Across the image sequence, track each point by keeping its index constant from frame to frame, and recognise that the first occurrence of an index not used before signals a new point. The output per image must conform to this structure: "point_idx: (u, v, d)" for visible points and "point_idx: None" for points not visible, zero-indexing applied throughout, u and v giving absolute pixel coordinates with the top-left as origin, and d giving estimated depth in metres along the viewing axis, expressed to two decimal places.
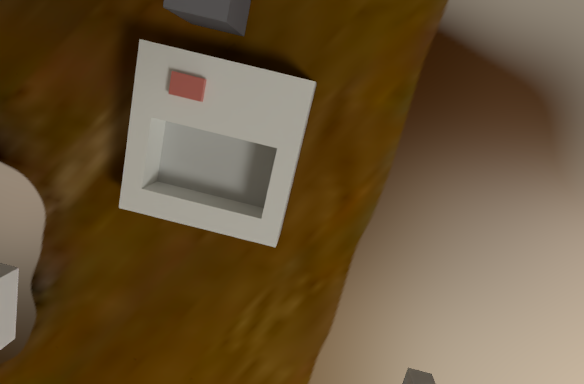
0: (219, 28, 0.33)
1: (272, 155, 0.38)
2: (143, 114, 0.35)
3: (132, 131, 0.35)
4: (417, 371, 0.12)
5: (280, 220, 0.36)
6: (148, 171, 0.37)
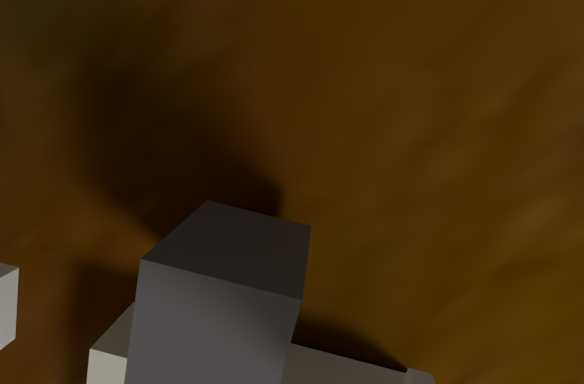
0: None
1: None
2: None
3: None
4: (417, 371, 0.12)
5: None
6: None
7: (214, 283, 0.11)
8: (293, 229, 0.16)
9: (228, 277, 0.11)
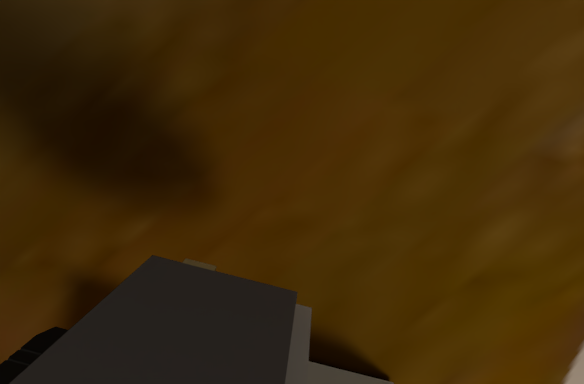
0: None
1: None
2: None
3: None
4: (299, 305, 0.14)
5: None
6: None
7: None
8: (271, 301, 0.12)
9: None
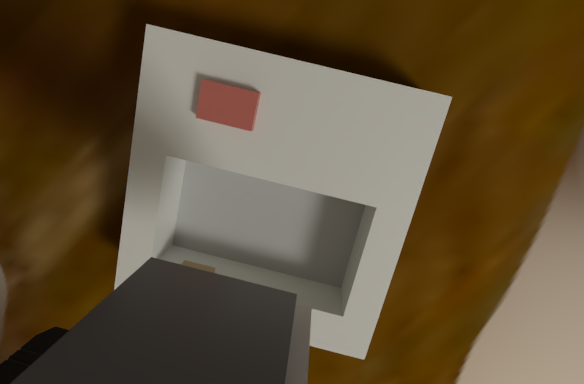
0: None
1: (354, 209, 0.24)
2: (152, 150, 0.21)
3: (134, 177, 0.21)
4: (299, 305, 0.14)
5: (374, 320, 0.22)
6: (160, 237, 0.23)
7: None
8: (270, 304, 0.11)
9: None
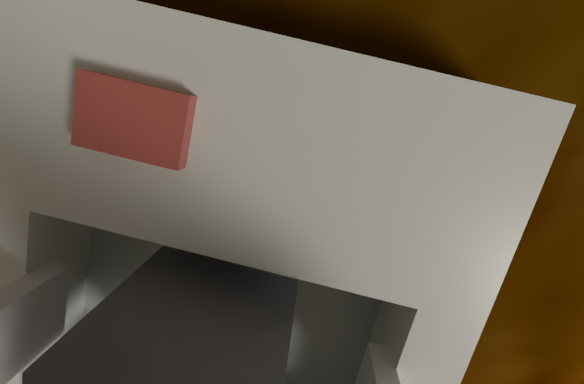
0: None
1: None
2: (5, 202, 0.11)
3: None
4: (377, 345, 0.13)
5: None
6: None
7: None
8: (274, 288, 0.12)
9: None
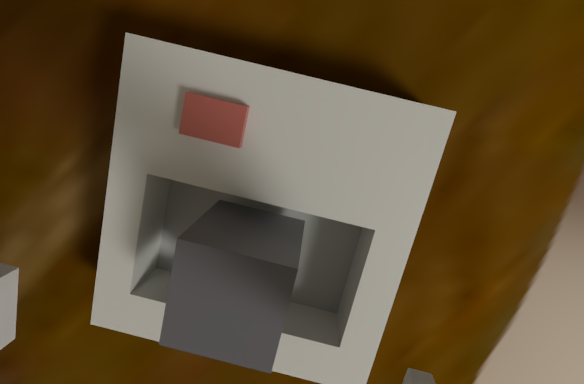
0: None
1: (351, 230, 0.23)
2: (132, 168, 0.19)
3: (113, 197, 0.20)
4: (417, 371, 0.12)
5: (373, 351, 0.20)
6: (142, 261, 0.22)
7: (232, 256, 0.15)
8: (290, 222, 0.20)
9: (242, 252, 0.15)
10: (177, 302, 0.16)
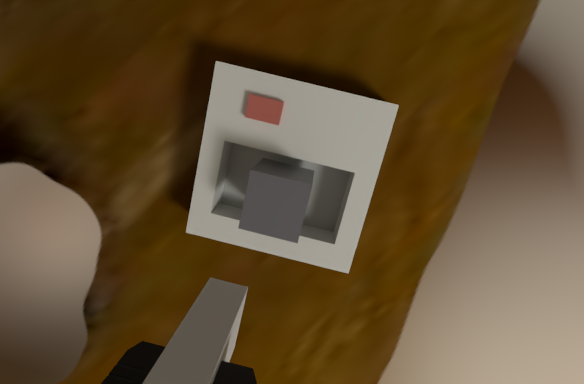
0: None
1: (342, 178, 0.37)
2: (216, 137, 0.34)
3: (203, 154, 0.34)
4: (235, 284, 0.14)
5: (354, 246, 0.35)
6: (216, 195, 0.36)
7: (278, 179, 0.29)
8: (306, 170, 0.35)
9: (283, 177, 0.30)
10: (249, 204, 0.30)
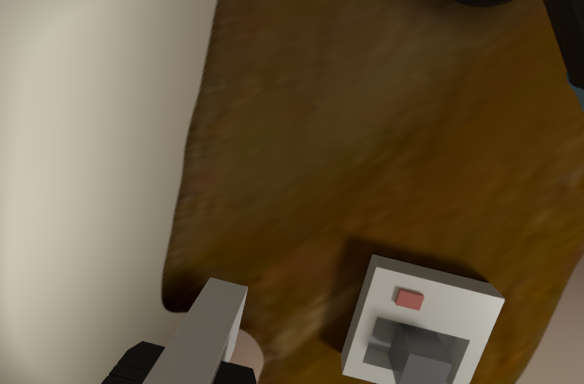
0: None
1: None
2: (371, 314, 0.47)
3: (361, 325, 0.48)
4: (235, 284, 0.14)
5: None
6: None
7: (429, 359, 0.43)
8: (432, 333, 0.49)
9: (431, 357, 0.43)
10: (406, 374, 0.44)
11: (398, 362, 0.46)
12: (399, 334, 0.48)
